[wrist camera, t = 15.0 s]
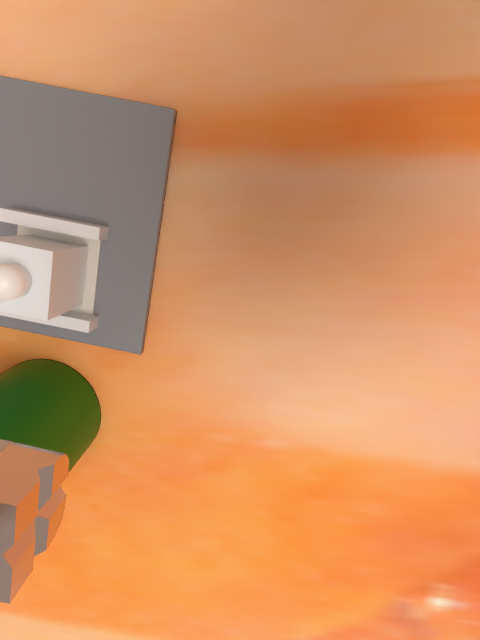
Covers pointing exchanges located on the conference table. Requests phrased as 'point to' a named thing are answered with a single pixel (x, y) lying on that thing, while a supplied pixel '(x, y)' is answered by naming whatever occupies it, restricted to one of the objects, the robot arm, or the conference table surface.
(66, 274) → the white cube with knob
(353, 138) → the conference table surface
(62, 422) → the motor
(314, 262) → the conference table surface
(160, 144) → the mounting plate
